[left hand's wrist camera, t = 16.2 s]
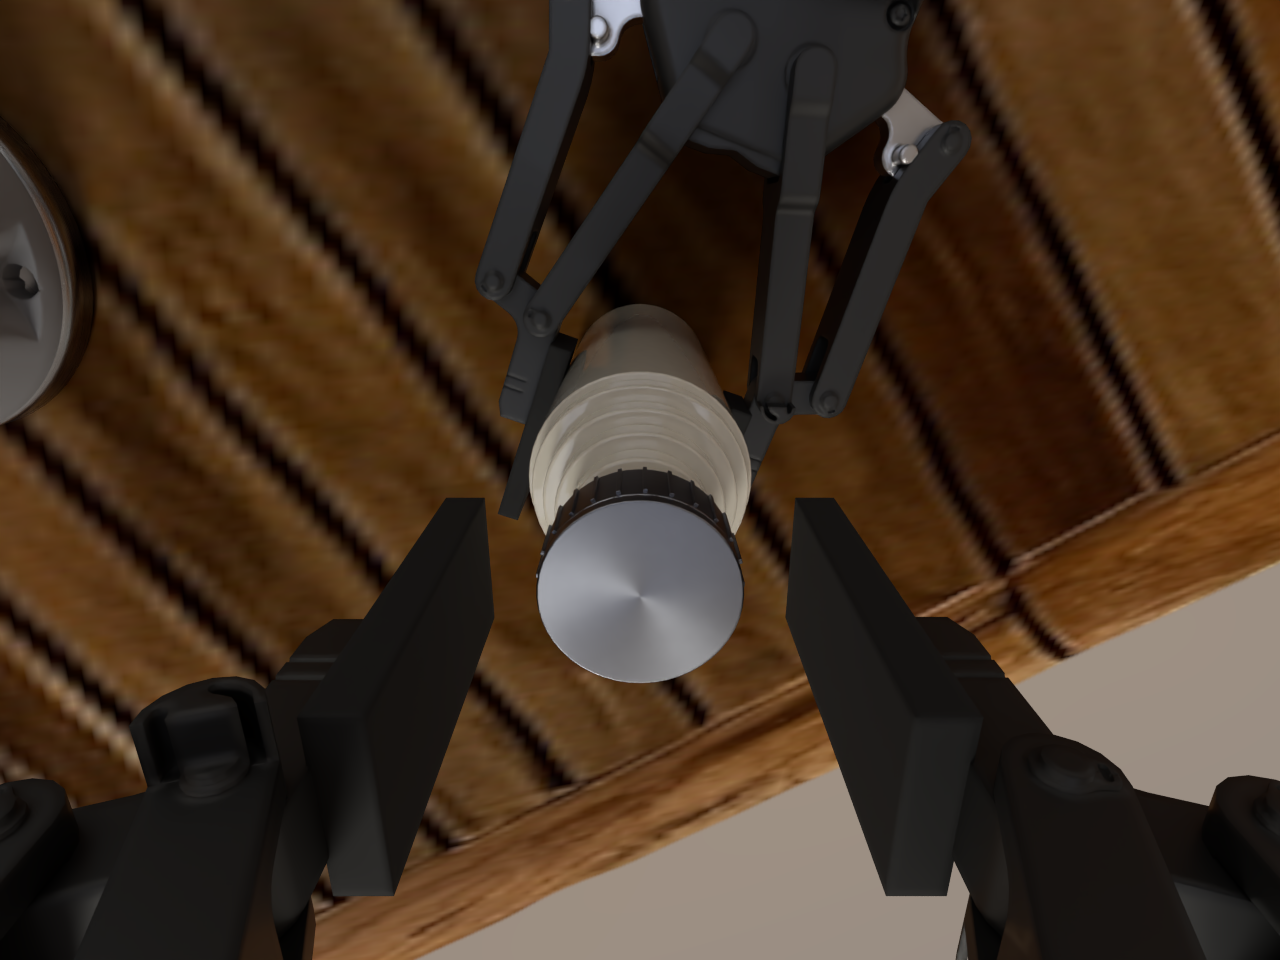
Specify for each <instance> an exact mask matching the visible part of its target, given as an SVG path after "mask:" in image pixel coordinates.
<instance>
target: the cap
mask: <svg viewBox="0 0 1280 960" xmlns="http://www.w3.org/2000/svg"><path fill="white" fill-rule="evenodd" d="M540 555H541V559H540V562H539V566H538V569H537V573H536V578H538V579H537V594H536V597H537V604H538V610H539V613H540V616H541V620H542V622H543V624H544V626H545V629H546V631H547V632H548V634H549V635H550V637H551V639H552V640H553V642H554V643H555V644H556V645H557V646H558V648H559V649H560V650H561V651H562V652H563V653H564V654H565V655H566V656H567V657H569V658H570V659H571V660H572V661H574V662H575V663H576V664H578V665H579V666H581V667H583V668H584V669H586V670H588V671H590V672H592V673H594V674H597V675H599V676H602V677H605V678H609V679H612V680H616V681H622V682H629V683H650V682H658V681H664V680H668V679H672V678H675V677H679V676H681V675H684V674H686V673H688V672H691V671H692V670H694V669H696V668H698V667H699V666H701V665H703V664H704V663H705V662H707V661H708V660H709V659H711V658H712V657H713V656H714V655H715V654H716V653H717V652H718V651H719V650H720V649H721V648H722V647H723V646H724V645H725V643H726V642H727V641H728V639H729V638H730V636H731V635H732V633H733V631H734V630H735V627H736V625H737V623H738V621H739V618H740V615H741V611H742V607H743V600H744V585H745V582H744V579H743V575H742V571H741V567H740V564H741V563H743V562H742V559H741V555H740V552H739V548H738V545H737V542H736V538H735V535H734V533H732V532H731V528H730V525H729V521H728V518H727V515H726V513H725V512H724V513H722V512H721V511H720V509H719V508H718V506H717V505H716V503H715V502H714V499H713V496H712V495H711V494H710V495H707V494H706V493H705V492H703V491H702V490H701V489H700V488H699V487H697V486H695V483H694V481H692V480H690V482H689V481H687V480H685V479H683V478H681V477H678V476H676V475H673V474H672V471H669V470H668V471H667V473H666V472H662V471H656V470H647V467H643V469H633V470H624V471H622V468H621V469H618V472H614V473H611V474H608V475H605V476H602V477H600V478H599V477H598V476H596V477H594V481H591V482H590V483H588V484H587V485H585V486H584V487H582V488H581V489H579V490H578V489H577V488H576V489H575V490H574V492H573V495H572V496H571V497H570V498H569V500H568V501H567V502H566V503H565V504H564V505H563V506H561V505H560V506H559V507H558V510H557V514H556V518H555V520H554V522H553V524H552V525H549V527H548V530H547V533H546V536H545V540H544V543H543V547H542V550H541V554H540Z"/></svg>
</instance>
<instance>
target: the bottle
mask: <svg viewBox="0 0 1280 960" xmlns="http://www.w3.org/2000/svg"><path fill="white" fill-rule="evenodd" d="M643 467H647V470H656V471H662V472H666V473H667V471H668V470H669V471H672V474H673V475H676V476H678V477H681V478H683V479H685V480H687V481H689V482H690V480H692V481H694V483H695V486H697V487H699V488H700V489H701V490H702V491H703V492H705V493H706V494H707V495H710V494H711V495H712V496H713V499H714V502H715V503H716V505H717V506H718V508H719V509H720V511H721V512H722V513H724V512H725V513H726V515H727V518H728V521H729V525H730V528H731V532H732V533H734V535H735V534H736V532H737V530H738V528H739V526H740V524H741V521H742V518H743V516H744V513H745V509H746V506H747V503H748V499H749V494H750V489H751V462H750V457H749V452H748V448H747V445H746V442H745V440H744V437H743V435H742V432H741V430H740V428H739V426H738V424H737V422H736V419H735V417H734V415H733V413H732V411H731V409H730V406H729V404H728V402H727V400H726V398H725V396H724V394H723V391H722V389H721V387H720V385H719V383H718V381H717V378H716V376H715V374H714V372H713V370H712V368H711V366H710V363H709V361H708V359H707V357H706V355H705V353H704V350H703V348H702V346H701V344H700V342H699V340H698V338H697V336H696V335H695V333H694V332H693V330H692V329H691V328H690V327H689V325H688V324H687V323H686V322H685V321H684V320H682V319H681V318H680V317H678V316H677V315H676V314H674V313H672V312H670V311H668V310H666V309H664V308H661V307H657V306H654V305H647V304H633V305H626V306H623V307H619V308H617V309H614V310H612V311H610V312H608V313H606V314H605V315H603V316H602V317H600V318H599V319H598V320H597V321H596V322H595V323H594V324H593V325H592V326H591V327H590V328H589V329H588V331H587V332H586V333H585V335H584V337H583V339H582V340H581V342H580V344H579V347H578V349H577V351H576V353H575V355H574V357H573V360H572V362H571V364H570V366H569V368H568V370H567V372H566V375H565V377H564V379H563V381H562V383H561V385H560V388H559V390H558V392H557V394H556V396H555V398H554V401H553V403H552V405H551V407H550V409H549V411H548V414H547V416H546V418H545V420H544V422H543V424H542V426H541V429H540V431H539V433H538V435H537V438H536V441H535V443H534V446H533V449H532V454H531V458H530V466H529V486H530V493H531V497H532V502H533V505H534V508H535V512H536V515H537V518H538V520H539V523H540V525H541V527H542V529H543V531H544V533H545V535H546V533H547V530H548V527H549V525H552V524H553V522H554V520H555V518H556V514H557V510H558V507H559V506H560V505H561V506H563V505H564V504H565V503H566V502H567V501H568V500H569V498H570V497H571V496H572V495H573V492H574V490H575V489H576V488H577V489H578V490H579V489H581V488H582V487H584V486H585V485H587V484H588V483H590V482H591V481H594V477H596V476H598V477H599V478H600V477H602V476H605V475H608V474H611V473H614V472H618V469H621V468H622V471H624V470H633V469H643Z"/></svg>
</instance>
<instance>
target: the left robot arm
mask: <svg viewBox="0 0 1280 960" xmlns="http://www.w3.org/2000/svg"><path fill="white" fill-rule="evenodd" d="M92 316H93V290H92V279H91V273H90V267H89V261H88V258H87V254H86V250H85V246H84V243H83V240H82V237H81V234H80V232H79V229H78V226H77V223H76V221H75V219H74V217H73V215H72V212H71V210H70V208H69V206H68V204H67V202H66V200H65V198H64V197H63V195H62V193H61V191H60V189H59V188H58V186H57V184H56V183H55V181H54V180H53V178H52V177H51V175H50V174H49V172H48V171H47V169H46V168H45V166H44V165H43V164H42V162H41V161H40V160H39V158H38V157H37V156H36V155H35V153H34V152H33V151H32V149H31V148H30V147H29V146H28V145H27V144H26V143H25V141H24V140H23V139H22V138H21V137H20V136H19V135H18V134H17V132H16V131H14V130H13V129H12V128H11V127H10V126H9V125H8V124H7V123H6V122H5V121H4V120H3V119H2V118H1V117H0V425H3V424H6V423H9V422H12V421H15V420H18V419H20V418H23V417H25V416H27V415H29V414H31V413H33V412H35V411H36V410H38V409H39V408H41V407H43V406H44V405H46V404H47V403H48V402H49V401H50V400H52V399H53V398H54V397H55V396H56V395H57V394H58V393H59V392H60V391H61V390H62V389H63V388H64V387H65V386H66V384H67V383H68V382H69V380H70V379H71V377H72V376H73V375H74V373H75V371H76V369H77V367H78V366H79V364H80V362H81V360H82V357H83V354H84V352H85V349H86V347H87V343H88V339H89V335H90V331H91V323H92ZM493 620H494V607H493V595H492V583H491V570H490V558H489V546H488V534H487V522H486V510H485V498H446V499H445V501H444V502H443V503H442V505H441V506H440V508H439V509H438V511H437V512H436V514H435V515H434V517H433V518H432V520H431V521H430V523H429V524H428V525H427V527H426V528H425V530H424V531H423V533H422V534H421V536H420V537H419V539H418V540H417V542H416V543H415V545H414V546H413V547H412V549H411V550H410V552H409V553H408V555H407V556H406V558H405V559H404V561H403V562H402V564H401V565H400V567H399V568H398V569H397V571H396V572H395V574H394V575H393V577H392V578H391V580H390V581H389V583H388V584H387V586H386V587H385V588H384V590H383V591H382V593H381V594H380V596H379V597H378V599H377V600H376V602H375V603H374V605H373V606H372V608H371V609H370V610H369V612H368V613H367V615H366V616H365V618H364V619H333V620H331V621H330V622H328V623H327V624H325V625H324V626H322V627H321V628H319V629H318V630H316V631H315V632H313V633H312V634H310V635H309V636H307V637H306V638H305V639H304V641H303V642H302V643H301V644H300V646H299V647H298V648H297V650H296V651H295V652H294V653H293V655H292V656H291V657H290V661H289V662H286V664H285V665H284V666H283V667H282V669H281V670H280V671H279V672H278V674H277V675H276V680H272V681H271V683H270V684H269V685H268V686H267V688H266V689H265V688H263V687H262V686H261V685H260V684H258V683H257V682H256V681H255V680H251V679H246V678H241V677H237V676H235V677H220V678H211V679H207V680H203V681H200V682H196V683H192V684H188V685H185V686H183V687H181V688H179V689H177V690H174V691H172V692H170V693H168V694H165V695H163V696H161V697H160V698H159V699H157V700H156V701H154V702H153V703H151V704H150V705H149V706H147V707H146V708H144V709H143V710H142V711H141V712H140V713H139V714H138V715H137V717H136V718H135V719H134V720H133V722H132V723H131V724H130V725H129V728H130V731H131V734H132V737H133V741H134V744H135V747H136V750H137V754H138V757H139V760H140V763H141V767H142V770H143V773H144V776H145V780H146V783H147V786H148V788H147V790H146V792H143V793H140V794H136V795H133V796H128V797H124V798H119V799H115V800H111V801H106V802H102V803H97V804H93V805H88V806H84V807H79V808H75V809H72V808H71V805H70V802H69V800H68V797H67V794H66V791H65V789H64V788H63V787H61V786H60V785H59V784H57V783H56V782H55V781H53V780H44V779H34V778H32V779H26V780H20V781H14V782H8V783H4V784H1V785H0V960H312V955H313V946H314V936H315V927H316V922H315V915H314V908H313V904H312V899H311V894H312V892H313V890H314V888H315V886H316V884H317V882H318V880H319V878H320V876H321V874H322V871H323V869H324V867H325V865H326V863H327V867H328V872H329V877H330V882H331V887H332V892H333V896H394V894H395V891H396V889H397V886H398V883H399V880H400V878H401V875H402V872H403V869H404V867H405V864H406V861H407V858H408V855H409V853H410V850H411V847H412V844H413V842H414V839H415V836H416V833H417V831H418V828H419V825H420V822H421V819H422V817H423V814H424V811H425V808H426V806H427V803H428V800H429V797H430V794H431V792H432V789H433V786H434V783H435V781H436V778H437V775H438V772H439V770H440V767H441V764H442V761H443V758H444V756H445V753H446V750H447V747H448V745H449V742H450V739H451V736H452V734H453V731H454V728H455V725H456V722H457V720H458V717H459V714H460V711H461V709H462V706H463V703H464V700H465V697H466V695H467V692H468V689H469V686H470V684H471V681H472V678H473V675H474V673H475V670H476V667H477V664H478V661H479V659H480V656H481V653H482V650H483V648H484V645H485V642H486V639H487V637H488V634H489V631H490V628H491V625H492V623H493ZM786 620H787V623H788V625H789V628H790V631H791V634H792V637H793V639H794V642H795V645H796V648H797V650H798V653H799V656H800V659H801V661H802V664H803V667H804V670H805V673H806V675H807V678H808V681H809V684H810V686H811V689H812V692H813V695H814V697H815V700H816V703H817V706H818V709H819V711H820V714H821V717H822V720H823V722H824V725H825V728H826V731H827V734H828V736H829V739H830V742H831V745H832V747H833V750H834V753H835V756H836V758H837V761H838V764H839V767H840V770H841V772H842V775H843V778H844V781H845V783H846V786H847V789H848V792H849V794H850V797H851V800H852V803H853V806H854V808H855V811H856V814H857V817H858V819H859V822H860V825H861V828H862V830H863V833H864V836H865V839H866V842H867V844H868V847H869V850H870V852H871V855H872V858H873V861H874V864H875V866H876V869H877V872H878V875H879V878H880V880H881V883H882V886H883V889H884V891H885V894H886V896H947V892H948V887H949V882H950V877H951V872H952V867H953V863H954V862H955V864H956V866H957V868H958V870H959V872H960V874H961V876H962V878H963V880H964V882H965V884H966V886H967V888H968V891H969V893H970V895H969V899H968V904H967V908H966V913H965V917H964V922H963V927H962V931H961V935H960V940H959V945H958V949H957V954H956V960H967V957H968V960H1280V781H1278V780H1274V779H1268V778H1262V777H1256V776H1250V775H1246V776H1236V777H1228V778H1226V779H1225V780H1224V781H1222V782H1221V783H1220V784H1218V785H1217V786H1216V789H1215V792H1214V794H1213V797H1212V800H1211V802H1210V805H1209V806H1206V805H1201V804H1197V803H1192V802H1188V801H1183V800H1179V799H1175V798H1170V797H1166V796H1161V795H1156V794H1152V793H1148V792H1144V791H1141V790H1137V789H1134V788H1133V786H1132V785H1131V783H1130V782H1129V781H1128V779H1127V778H1126V776H1125V775H1124V773H1123V772H1122V771H1121V769H1120V768H1118V767H1117V766H1116V765H1115V764H1113V763H1112V762H1111V761H1110V760H1108V759H1107V758H1106V757H1104V756H1103V755H1102V754H1101V753H1099V752H1097V751H1095V750H1093V749H1091V748H1089V747H1087V746H1085V745H1083V744H1081V743H1079V742H1077V741H1073V740H1070V739H1067V738H1063V737H1060V736H1056V735H1053V734H1052V732H1051V731H1050V730H1049V729H1048V727H1047V726H1046V725H1045V723H1044V722H1043V721H1042V720H1041V718H1040V717H1039V716H1038V715H1037V713H1036V712H1035V711H1034V710H1033V708H1032V707H1031V706H1030V705H1029V703H1028V702H1027V701H1026V700H1025V698H1024V697H1023V696H1022V694H1021V693H1020V692H1019V691H1018V689H1017V688H1016V687H1015V686H1014V684H1013V683H1012V682H1011V681H1010V679H1009V678H1005V673H1004V672H1003V671H1002V669H1001V668H1000V667H999V665H998V664H997V663H996V662H995V660H991V655H990V654H989V653H988V652H987V650H986V649H985V648H984V647H983V645H982V644H981V643H980V642H979V640H978V639H977V638H976V637H975V635H974V634H972V633H971V632H969V631H968V630H966V629H965V628H963V627H961V626H960V625H958V624H957V623H955V622H954V621H952V620H951V619H949V618H948V617H915V616H914V615H913V613H912V612H911V610H910V609H909V608H908V606H907V605H906V603H905V602H904V600H903V599H902V597H901V596H900V594H899V593H898V591H897V590H896V588H895V587H894V586H893V584H892V583H891V581H890V580H889V578H888V577H887V575H886V574H885V572H884V571H883V569H882V568H881V567H880V565H879V564H878V562H877V561H876V559H875V558H874V556H873V555H872V553H871V552H870V550H869V549H868V547H867V546H866V545H865V543H864V542H863V540H862V539H861V537H860V536H859V534H858V533H857V531H856V530H855V528H854V527H853V525H852V524H851V523H850V521H849V520H848V518H847V517H846V515H845V514H844V512H843V511H842V509H841V508H840V506H839V505H838V503H837V502H836V501H835V499H834V498H795V510H794V522H793V534H792V546H791V558H790V570H789V583H788V595H787V607H786Z"/></svg>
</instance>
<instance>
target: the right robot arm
mask: <svg viewBox="0 0 1280 960" xmlns="http://www.w3.org/2000/svg"><path fill="white" fill-rule="evenodd" d="M922 3H923V0H549V52H548V55H547V58H546V61H545V64H544V68H543V71H542V74H541V77H540V80H539V83H538V86H537V89H536V92H535V95H534V98H533V101H532V104H531V107H530V110H529V113H528V116H527V119H526V122H525V125H524V129H523V132H522V135H521V138H520V141H519V144H518V147H517V150H516V153H515V156H514V159H513V162H512V165H511V168H510V171H509V174H508V177H507V180H506V183H505V187H504V190H503V193H502V196H501V199H500V202H499V205H498V208H497V211H496V214H495V217H494V220H493V223H492V226H491V229H490V232H489V235H488V238H487V241H486V244H485V248H484V251H483V254H482V257H481V260H480V263H479V266H478V269H477V272H476V277H475V284H476V287H477V290H478V291H479V292H480V294H481V295H482V296H484V297H485V298H487V299H490V300H493V301H495V302H496V303H497V304H498V305H500V306H501V307H502V308H503V309H505V310H506V311H507V312H508V313H509V314H510V315H511V316H512V317H513V318H514V320H515V321H516V324H517V327H518V337H517V341H516V345H515V348H514V351H513V355H512V358H511V362H510V365H509V369H508V372H507V376H506V379H505V382H504V386H503V389H502V393H501V396H500V399H499V406H500V415H501V416H502V417H505V418H508V419H511V420H514V421H517V422H520V423H523V424H525V428H524V431H523V434H522V437H521V441H520V444H519V447H518V450H517V453H516V457H515V460H514V463H513V466H512V470H511V473H510V476H509V479H508V483H507V486H506V489H505V492H504V496H503V499H502V502H501V505H500V508H499V512H498V514H500V515H503V516H506V517H509V518H513V519H516V520H518V518H519V516H520V513H521V511H522V508H523V506H524V503H525V501H526V498H527V496H528V493H529V490H530V486H529V466H530V458H531V454H532V449H533V446H534V443H535V441H536V438H537V435H538V433H539V431H540V429H541V426H542V424H543V422H544V420H545V418H546V416H547V414H548V411H549V409H550V407H551V405H552V403H553V401H554V398H555V396H556V394H557V392H558V390H559V388H560V385H561V383H562V381H563V379H564V377H565V375H566V372H567V370H568V368H569V366H570V363H571V359H572V356H573V353H574V350H575V347H576V344H577V341H578V339H576V338H573V337H571V336H568V335H565V334H562V333H559V330H560V327H561V324H562V321H563V319H564V318H565V316H566V315H567V313H568V312H569V311H570V309H571V308H572V306H573V305H574V303H575V302H576V300H577V299H578V298H579V296H580V295H581V293H582V292H583V290H584V289H585V288H586V286H587V285H588V283H589V282H590V280H591V279H592V277H593V276H594V275H595V273H596V272H597V270H598V269H599V267H600V266H601V264H602V263H603V262H604V260H605V259H606V257H607V256H608V254H609V253H610V251H611V250H612V249H613V247H614V246H615V244H616V243H617V241H618V240H619V238H620V237H621V236H622V234H623V233H624V231H625V230H626V228H627V227H628V225H629V224H630V223H631V221H632V220H633V218H634V217H635V215H636V214H637V212H638V211H639V210H640V208H641V207H642V205H643V204H644V202H645V201H646V199H647V198H648V197H649V195H650V194H651V192H652V191H653V189H654V188H655V186H656V185H657V184H658V182H659V181H660V179H661V178H662V176H663V175H664V173H665V172H666V171H667V169H668V168H669V166H670V165H671V163H672V162H673V161H674V159H675V158H676V156H677V155H678V153H679V152H680V150H681V149H682V148H683V146H684V145H685V146H687V147H690V148H692V149H695V150H697V151H700V152H703V153H707V154H719V155H728V156H730V157H731V158H733V159H734V160H735V161H737V162H738V163H739V164H740V165H742V166H743V167H744V168H746V169H747V170H748V171H751V172H754V173H756V174H759V175H761V176H764V177H765V180H764V191H763V209H764V214H763V225H762V236H761V246H760V256H759V267H758V277H757V288H756V298H755V309H754V319H753V329H752V340H751V350H750V361H749V371H748V381H747V389H748V390H747V392H746V395H745V397H744V400H743V398H742V397H741V396H738V395H735V394H733V393H730V392H727V391H723V394H724V396H725V398H726V400H727V402H728V404H729V406H730V409H731V411H732V413H733V415H734V417H735V419H736V422H737V424H738V426H739V428H740V430H741V432H742V435H743V437H744V440H745V442H746V445H747V448H748V452H749V457H750V462H751V486H752V483H753V481H754V479H755V476H756V474H757V471H758V470H759V467H760V465H761V462H762V460H763V458H764V456H765V454H766V451H767V449H768V447H769V444H770V442H771V440H772V438H773V435H774V433H775V431H776V429H777V427H778V425H779V424H783V423H785V422H787V421H788V420H790V419H791V417H792V416H793V415H798V414H818V415H820V416H821V417H825V418H831V417H834V416H837V415H838V414H839V413H841V412H842V411H843V409H844V407H845V406H846V403H847V401H848V398H849V396H850V393H851V391H852V388H853V386H854V383H855V381H856V378H857V376H858V373H859V371H860V368H861V366H862V363H863V361H864V359H865V356H866V354H867V351H868V349H869V346H870V344H871V341H872V339H873V336H874V334H875V331H876V329H877V326H878V324H879V321H880V319H881V316H882V314H883V311H884V309H885V306H886V304H887V301H888V299H889V296H890V294H891V291H892V289H893V286H894V284H895V281H896V279H897V276H898V274H899V271H900V269H901V266H902V264H903V261H904V259H905V256H906V254H907V251H908V249H909V246H910V244H911V241H912V239H913V236H914V234H915V231H916V229H917V226H918V224H919V221H920V219H921V216H922V214H923V211H924V209H925V206H926V204H927V202H928V200H929V199H930V198H931V197H932V196H933V194H934V193H935V192H936V191H937V189H938V188H939V187H940V186H941V184H942V183H943V182H944V181H945V179H946V178H947V177H948V176H949V175H950V173H951V172H952V171H953V170H954V168H955V167H956V166H957V165H958V163H959V162H960V161H961V160H962V159H963V157H964V156H965V155H966V153H967V151H968V150H969V148H970V144H971V133H970V130H969V129H968V127H967V126H966V124H964V123H962V122H960V121H953V120H951V121H948V122H945V123H943V122H941V121H940V120H939V119H938V118H937V117H936V116H934V115H933V114H932V113H931V112H930V111H929V110H928V109H927V108H926V107H925V106H923V105H922V104H921V103H920V102H919V101H918V100H917V99H916V98H915V97H914V96H912V95H911V94H910V93H909V92H908V91H907V90H906V89H905V84H906V80H907V72H908V69H907V46H908V40H909V35H910V32H911V29H912V26H913V23H914V21H915V19H916V17H917V14H918V12H919V10H920V7H921V5H922ZM639 24H642V25H643V29H644V33H645V37H646V41H647V45H648V49H649V53H650V57H651V60H652V64H653V68H654V72H655V76H656V80H657V84H658V88H659V92H660V96H661V100H662V104H661V105H660V107H659V108H658V110H657V111H656V113H655V114H654V116H653V117H652V119H651V120H650V122H649V123H648V125H647V126H646V128H645V129H644V131H643V132H642V134H641V136H640V137H639V139H638V141H637V143H636V144H635V146H634V147H633V149H632V150H631V152H630V153H629V155H628V156H627V158H626V159H625V161H624V162H623V164H622V165H621V167H620V168H619V170H618V171H617V173H616V174H615V176H614V177H613V179H612V180H611V182H610V183H609V185H608V186H607V188H606V189H605V190H604V192H603V193H602V195H601V196H600V198H599V199H598V201H597V202H596V204H595V205H594V207H593V208H592V210H591V211H590V213H589V214H588V216H587V217H586V219H585V220H584V222H583V223H582V225H581V226H580V228H579V229H578V231H577V232H576V234H575V235H574V237H573V238H572V240H571V241H570V243H569V244H568V246H567V247H566V249H565V250H564V252H563V253H562V255H561V256H560V258H559V259H558V261H557V262H556V264H555V265H554V267H553V268H552V269H551V271H550V272H549V274H548V275H547V277H546V278H545V280H544V281H543V283H542V284H541V285H540V284H539V283H538V282H537V281H535V280H534V279H533V278H532V277H531V276H529V275H528V274H527V273H526V270H527V267H528V264H529V262H530V259H531V256H532V253H533V250H534V247H535V244H536V242H537V239H538V236H539V233H540V230H541V227H542V224H543V222H544V219H545V216H546V213H547V210H548V207H549V205H550V202H551V199H552V196H553V193H554V190H555V187H556V185H557V182H558V179H559V176H560V173H561V170H562V168H563V165H564V162H565V159H566V156H567V153H568V150H569V148H570V145H571V142H572V139H573V136H574V133H575V131H576V128H577V125H578V122H579V119H580V116H581V113H582V111H583V108H584V105H585V102H586V99H587V96H588V93H589V89H590V86H591V82H592V76H593V71H594V62H595V61H596V62H602V61H607V60H609V59H611V58H612V57H613V56H614V55H615V53H616V52H617V50H618V47H619V43H620V40H621V37H622V35H623V34H624V32H625V31H626V30H627V29H628V28H629V27H631V26H633V25H639ZM874 121H875V122H876V123H877V125H878V127H879V129H880V136H881V137H880V142H879V145H878V147H877V149H876V152H875V154H874V166H875V169H876V171H877V172H878V173H879V174H880V176H879V178H878V179H877V181H876V182H875V184H874V186H873V188H872V190H871V191H870V193H869V195H868V198H867V200H866V202H865V205H864V207H863V210H862V212H861V215H860V218H859V220H858V223H857V226H856V228H855V231H854V234H853V236H852V239H851V242H850V244H849V247H848V250H847V252H846V255H845V258H844V260H843V263H842V266H841V269H840V271H839V274H838V277H837V279H836V282H835V285H834V287H833V290H832V293H831V295H830V298H829V301H828V303H827V306H826V309H825V311H824V314H823V317H822V319H821V322H820V325H819V328H818V330H817V333H816V336H815V338H814V341H813V344H812V346H811V349H810V352H809V354H808V357H807V360H806V362H805V365H804V368H803V370H802V373H795V369H796V361H797V352H798V344H799V336H800V327H801V319H802V311H803V302H804V294H805V285H806V277H807V269H808V260H809V252H810V243H811V235H812V227H813V218H814V213H815V210H816V207H817V205H818V202H819V197H820V191H821V183H822V174H823V166H824V158H825V156H826V155H827V154H829V153H830V152H832V151H833V150H834V149H836V148H837V147H839V146H840V145H841V144H843V143H844V142H846V141H847V140H848V139H850V138H851V137H853V136H854V135H855V134H857V133H858V132H860V131H861V130H863V129H864V128H865V127H867V126H868V125H870V124H871V123H872V122H874Z"/></svg>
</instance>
